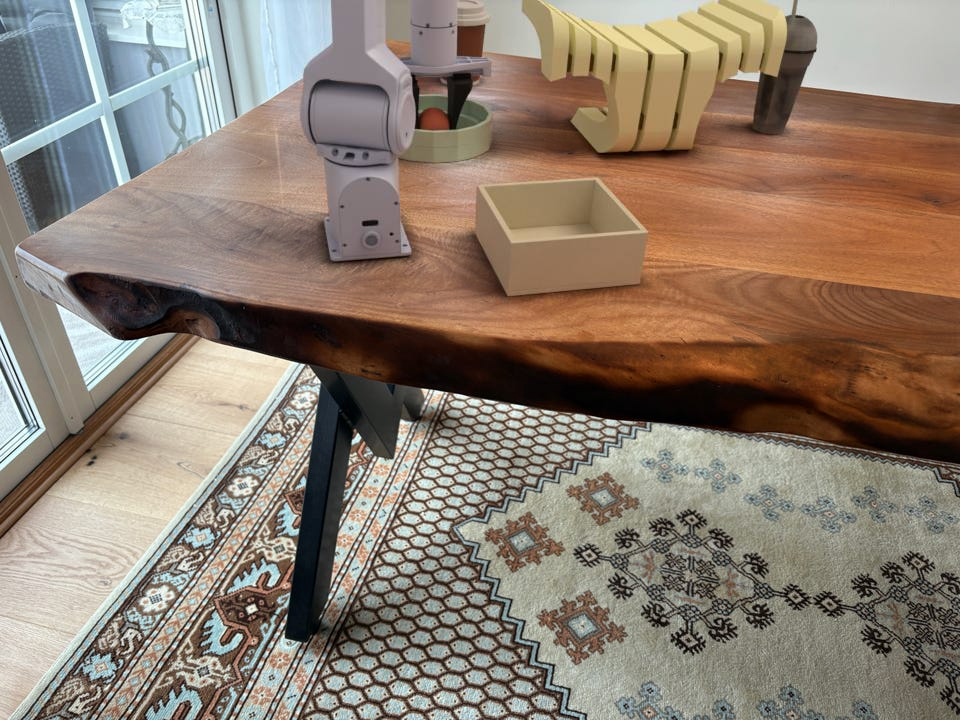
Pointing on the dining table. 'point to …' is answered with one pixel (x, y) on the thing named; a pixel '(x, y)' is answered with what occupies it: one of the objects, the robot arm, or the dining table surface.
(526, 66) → the dining table surface
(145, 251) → the dining table surface
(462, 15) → the coffee cup
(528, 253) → the bin
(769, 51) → the slatted curved stool
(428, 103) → the bowl
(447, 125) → the toy ball
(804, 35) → the beverage cup
